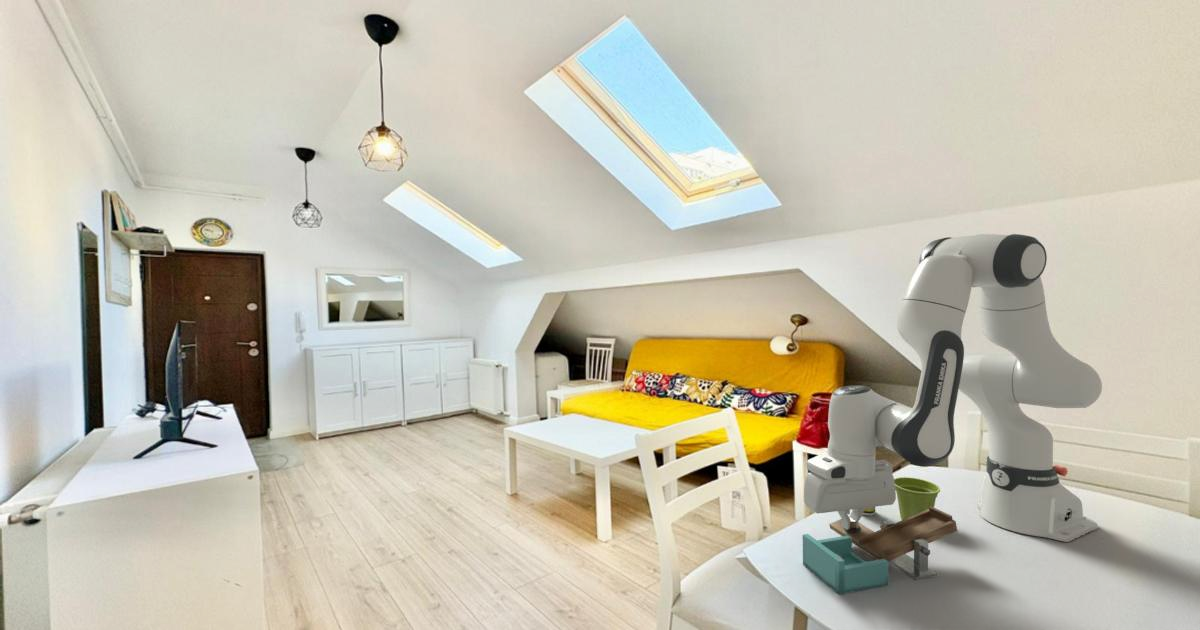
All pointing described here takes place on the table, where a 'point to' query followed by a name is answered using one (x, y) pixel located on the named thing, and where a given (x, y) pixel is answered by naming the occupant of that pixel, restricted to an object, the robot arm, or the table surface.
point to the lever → (899, 533)
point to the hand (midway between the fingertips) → (850, 527)
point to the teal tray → (843, 565)
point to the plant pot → (915, 495)
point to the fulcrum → (911, 566)
